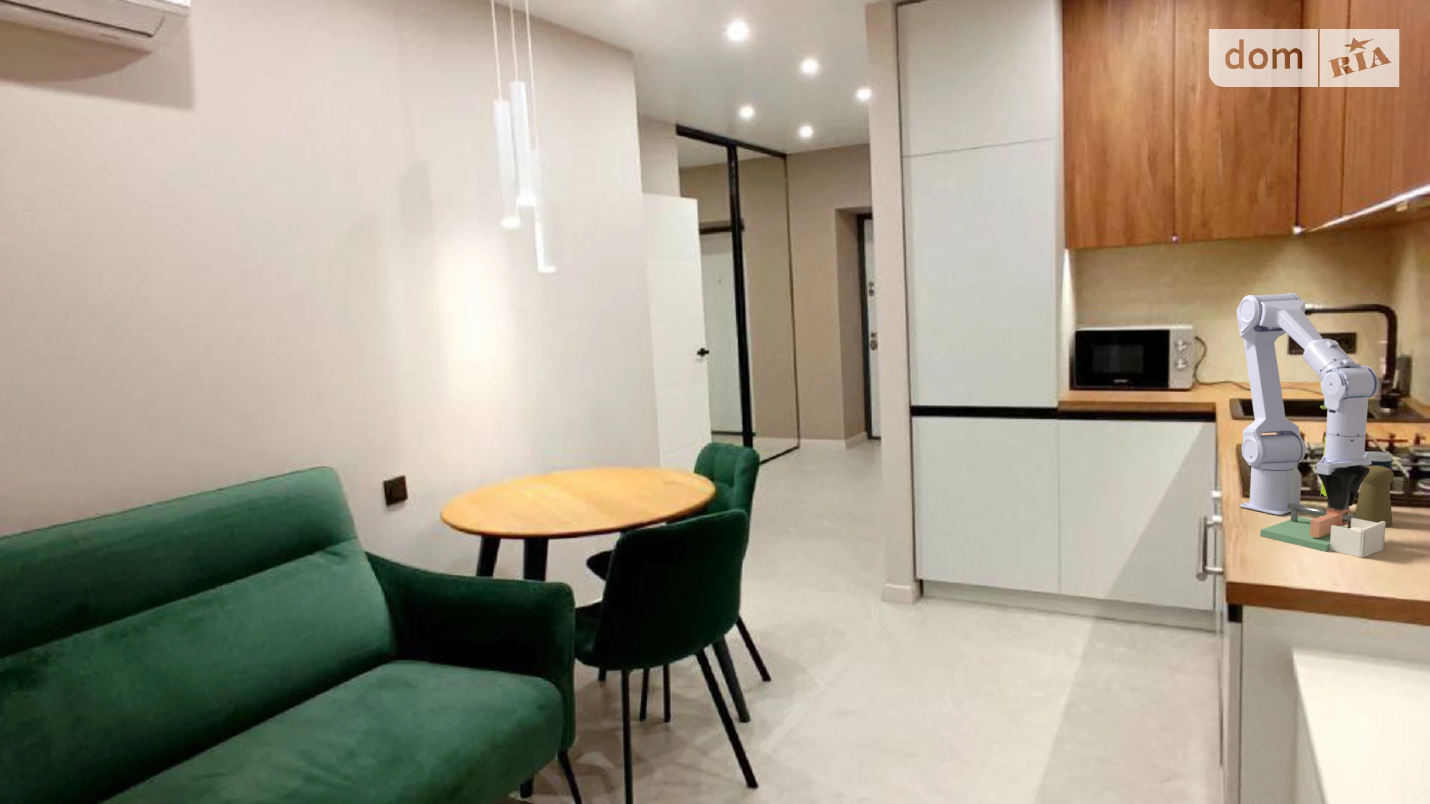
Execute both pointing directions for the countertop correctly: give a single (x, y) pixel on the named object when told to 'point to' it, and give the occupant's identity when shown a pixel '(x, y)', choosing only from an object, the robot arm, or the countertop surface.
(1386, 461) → the beer can
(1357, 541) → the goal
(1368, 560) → the countertop surface
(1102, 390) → the countertop surface
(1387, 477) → the cork
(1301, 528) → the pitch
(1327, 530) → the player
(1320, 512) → the rod
